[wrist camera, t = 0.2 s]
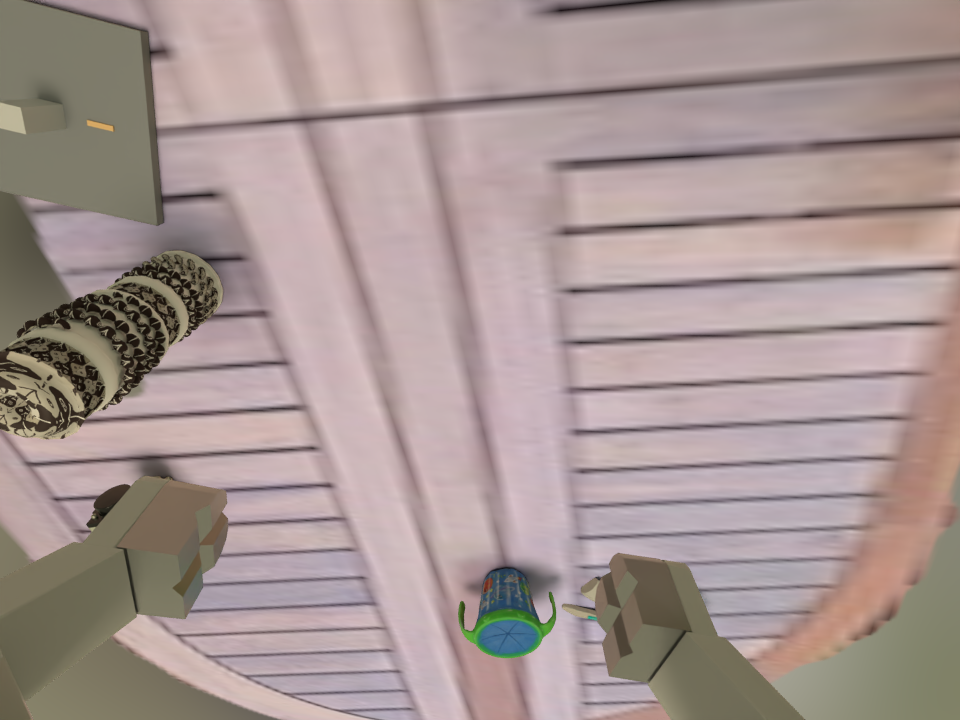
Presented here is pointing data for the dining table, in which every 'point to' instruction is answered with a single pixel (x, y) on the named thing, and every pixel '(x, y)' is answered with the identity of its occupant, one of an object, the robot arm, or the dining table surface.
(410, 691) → the dining table surface
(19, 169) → the grey square panel
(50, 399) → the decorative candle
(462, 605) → the snack cup
